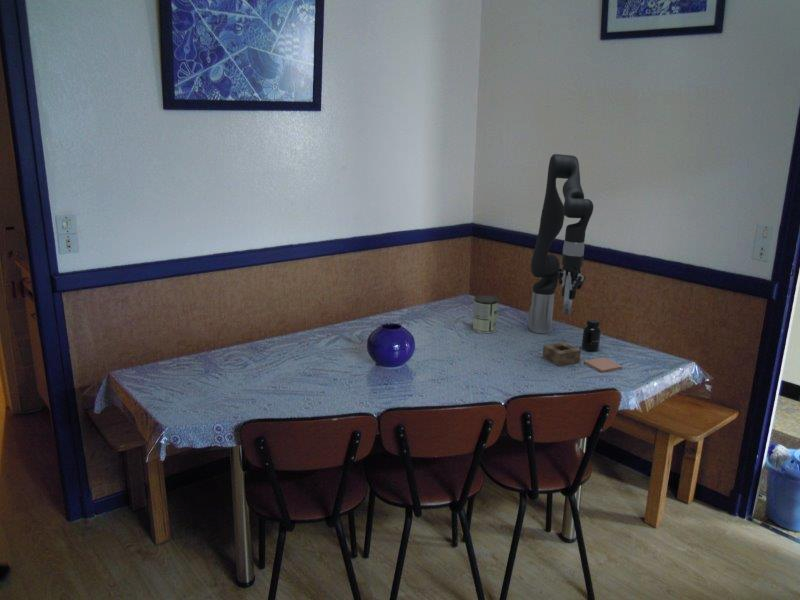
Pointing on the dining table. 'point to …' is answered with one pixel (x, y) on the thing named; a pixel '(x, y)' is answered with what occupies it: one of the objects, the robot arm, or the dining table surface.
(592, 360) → the terracotta mat
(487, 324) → the coffee can
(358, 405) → the dining table surface
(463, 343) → the dining table surface
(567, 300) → the metal pin
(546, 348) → the walnut block
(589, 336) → the supplement bottle
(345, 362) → the dining table surface
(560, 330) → the dining table surface
